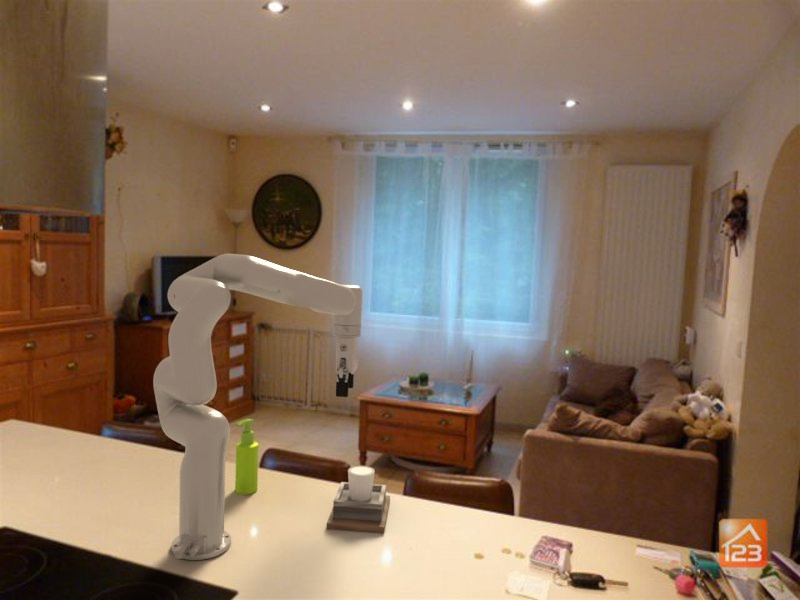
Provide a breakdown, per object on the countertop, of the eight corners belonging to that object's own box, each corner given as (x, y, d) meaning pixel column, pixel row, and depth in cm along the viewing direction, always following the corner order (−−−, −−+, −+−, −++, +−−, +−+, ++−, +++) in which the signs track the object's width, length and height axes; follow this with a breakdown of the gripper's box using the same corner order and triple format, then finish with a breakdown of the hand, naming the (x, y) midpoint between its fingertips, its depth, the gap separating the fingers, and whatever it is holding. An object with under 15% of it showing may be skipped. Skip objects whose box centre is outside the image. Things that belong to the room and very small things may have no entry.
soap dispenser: (227, 492, 160) (229, 421, 158) (245, 484, 166) (247, 415, 164) (244, 498, 157) (245, 425, 155) (261, 489, 163) (263, 418, 161)
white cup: (372, 503, 147) (374, 476, 147) (345, 501, 147) (346, 474, 147) (374, 491, 154) (375, 465, 153) (348, 490, 154) (349, 464, 153)
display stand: (384, 533, 141) (385, 510, 141) (326, 529, 142) (327, 506, 142) (389, 501, 159) (390, 480, 159) (338, 497, 160) (339, 477, 159)
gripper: (356, 335, 151) (353, 401, 153) (364, 326, 168) (362, 385, 170) (327, 334, 151) (325, 399, 153) (338, 325, 169) (336, 384, 170)
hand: (344, 392), depth 161 cm, fingers open, 9 cm apart
